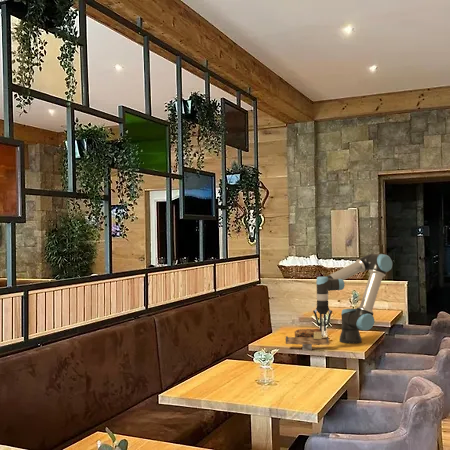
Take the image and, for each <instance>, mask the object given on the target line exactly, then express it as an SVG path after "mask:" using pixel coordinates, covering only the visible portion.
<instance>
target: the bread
mask: <svg viewBox="0 0 450 450" xmlns="http://www.w3.org/2000/svg"><path fill="white" fill-rule="evenodd" d="M314 332H321V336H322V331H320V328H306V329H304V328H300V329H296V330H294V337H304V338H314ZM322 337H323V336H322Z"/></svg>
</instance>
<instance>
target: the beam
mask: <svg viewBox="0 0 450 450" xmlns="http://www.w3.org/2000/svg"><path fill="white" fill-rule="evenodd" d="M329 341H330V340H329V336H326V337H322V339H314V338H304V337H295V336H294V337H293V336H291V337H290V336H288V335H287V336H285V344H286V345H302V351H309V352H312V350H313V349H312V348H313V346H312V345H315V344H316V345H328V346H329V343H330V342H329Z"/></svg>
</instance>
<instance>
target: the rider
mask: <svg viewBox="0 0 450 450" xmlns="http://www.w3.org/2000/svg"><path fill="white" fill-rule="evenodd" d="M322 338H323V336H321V332H314V339H322Z"/></svg>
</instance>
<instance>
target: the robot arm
mask: <svg viewBox="0 0 450 450" xmlns="http://www.w3.org/2000/svg"><path fill="white" fill-rule="evenodd" d="M392 268H393V260H392V259H391V257H390V256H389V255H387V254H384V253H370V254H366V255H364V256H362V257H360V258H358V259H356V261H355V262H353V263H351V264H349V265H347V266H344V267H343V268H340V269H338V270H337V271H334V272H332V273H330V274H328V275H326V276H317V277H316V283H315V284H316V300H317V301H316V307H315V309H314V310H312V313H313V314H314V317H315V321H316V326H319V329H320V331H322V337H325V332H326V331H327V326H329V324H330V321H331V320H330V319H331V316H332V314H333V310H331V309H330V307H329V292H331V291H342V290H344V288H345V287H346V286H345V281H344V280H346V279H349V278H350V277H353V276H354V275H357V274H359V273H361V272H362V273H364V272H366V271H369V273H370V274H369V277H368V280H367V283H366V286H365V289H364V292H363V295H362V298H361V301H360V305H359V306H358V307H356V308H343V309H342V310H341V332H340V335H339V342H340V343H344V344H360V343H362V337H361V333H360V331H369V330H371V329H372V328H373V326H374V325H375V317H374V313H375V312H374V311H373V310H374V309H373V308H374V305H375V303H376V300H377V296H378V293H379V291H380V287H381V285H382V284H381V283H382V281H383V278H384V277H386V275H387V273H388V272H389V271H391V270H392ZM317 313H318V314H317ZM327 313H328V317H327V316H326V315H327ZM318 315H319V319H318ZM322 317H323V319H322ZM326 317H327V318H326ZM326 320H327V321H326ZM322 323H323V324H322Z"/></svg>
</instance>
